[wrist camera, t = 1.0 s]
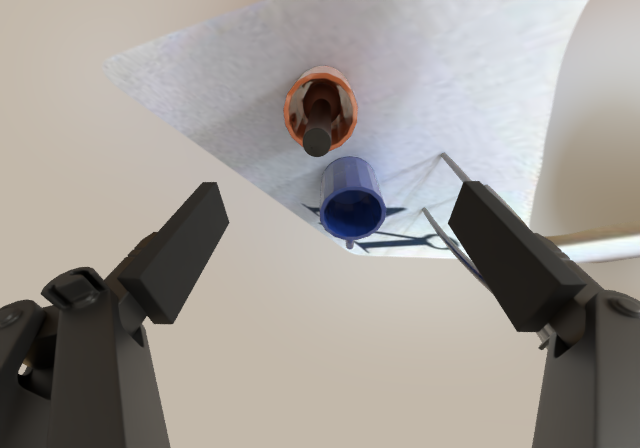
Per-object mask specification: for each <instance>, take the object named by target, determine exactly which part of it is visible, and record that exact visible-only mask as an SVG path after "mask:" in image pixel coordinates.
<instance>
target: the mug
mask: <svg viewBox="0 0 640 448" xmlns="http://www.w3.org/2000/svg"><path fill="white" fill-rule="evenodd" d="M385 215H386V207H385V204H384V201H383V198H382V195H381V192H380V188H379V185H378V182H377V179H376V177H375V174H374V171H373V169H372V167H371V166H370V165H369V164H368V163H367V162H366V161H364V160H362V159H360V158H357V157H343V158H340V159H337V160H335V161H334V162H332V163H331V164H330V165H329V166H328V167H327V168H326V170H325V172H324V174H323V177H322V181H321V197H320V221H321V223H322V225H323V227H324V228H325V230H326V231H328V232H329V233H330V234H332V235H333V236H334V237H338V238H341V239H344V240H346V247H347V248H348V249H352V248H353V245H354V240H358V239H361V238H365V237H368V236H370V235H371V234H373V233H374V232H375V231H377V230H378V229H379V228H380V226H381V225H382V223H383V222H384V220H385Z"/></svg>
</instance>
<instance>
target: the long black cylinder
mask: <svg viewBox="0 0 640 448" xmlns="http://www.w3.org/2000/svg"><path fill="white" fill-rule="evenodd" d="M303 110H304V113H305V115H306V117H307V118H308V122H307V126H306V129H305V133H304V136H303V141H302V144H303V148H304V150H305V151H306V152H307V153H308V154H309V155H311V156H314V157H321V156H323V155H325V154H326V153H328V151H329V150H330V148H331V123H332V122H333V121H334V120H335V119H336V118H337V117H338V115H339V113H340V110H341V99H340V96H339V94H338V92H337V91H336V89H335V88H334V87H332V86H331V85H329V84H326V83H318V84H315V85H313V86H312V87H310V88H309V89H308V91H307V92H306V94H305V96H304V99H303Z"/></svg>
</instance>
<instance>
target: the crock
mask: <svg viewBox="0 0 640 448" xmlns="http://www.w3.org/2000/svg"><path fill="white" fill-rule="evenodd" d="M318 83H326V84H329V85H331V86H332V87H334V88H335V89H336V91H337V92H338V94H339V96H340V99H341V110H340V113H339V115H338V117H337V118H336V119H335V120H334V121H333V122H332V123H331V148H330V150H329V151H331V150H333V149H335V148H338V147H340V146H341V145H342V144H343V143H344V142H345V141H346V140H347V139H348V138H349V137H350V136H351V135H352V132H353V130H354V128H355V125H356V123H357V110H358V107H357V103H356V100H355V97H354V94H353V91H352V89H351V87H350V84H349V82H348V80H347V79H346V78H345V77H344V75H343V74H342V73H341V72H340V71H338V70H336V69H334V68H332V67H329V66H316V67H313V68H311V69H309V70H308V71H306V72H304V73H303V74H302V76H301V77H300V78H299V79H298V80H297V82H296V83H295V84H294V86H293V87H292V88H291V90H290V91H289V92H288V94H287V97H286V101H285V105H284V118H285V125H286V127H287V129H288V131H289V133H290V135H291V137H292V138H293V139H294V140H295V141H296V142H297V143H299V144H300V145H301V146H302V147H303V144H302V141H303V136H304V133H305V129H306V126H307V122H308V118H307V117H306V115H305V113H304V110H303V99H304V96H305V94H306V92H307V91H308V89H309V88H310V87H312V86H313V85H315V84H318Z"/></svg>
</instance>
